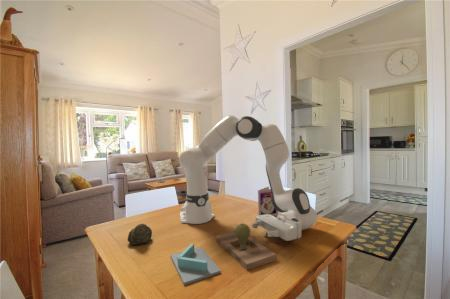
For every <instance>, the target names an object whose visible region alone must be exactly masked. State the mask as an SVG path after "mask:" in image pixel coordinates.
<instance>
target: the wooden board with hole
mask: <svg viewBox="0 0 450 299" xmlns="http://www.w3.org/2000/svg"><path fill="white" fill-rule="evenodd" d="M215 238H216V242H217V243H218V244H219V245H220V246H221V247H222V248H223V249H224V250H225V251H227V253H228V254H229V255H230V256H231V257H232V258H233V259H235V261H237V263H238V264H240V265H241V266H242V267H243V268H244V269H245V270H246V271H249V270H252V269H255V268H258V267H260V266H263V265H266V264H268V263H271V262H274V261H275V262H276V261H277V254H276V253H275V252H273V251H272V250H270V249H269V248H268V247H266V246H264V245H263V244H261V243H260V242H259V241H257V240H256V239H255V238H253V237H251V235H249V237H248V240H247V245H249V246H250V248H246V249H245V250H241V251H239V249H237V248H236V247H237V246H240V242H239V239H238V237H237V235H236V230H235V231H231V232H228V233H223V234H220V235H216V236H215Z"/></svg>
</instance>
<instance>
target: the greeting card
mask: <svg viewBox="0 0 450 299" xmlns="http://www.w3.org/2000/svg"><path fill="white" fill-rule="evenodd" d="M257 197H258V198H257V202H258V216H259V215H265V214H270V215H272V216H275V217H277V216H278V214H279V211H277V210H276V209H275V208H274V206H273V203H272V193H271V188H270V186H266V187H264V188H261V189H258V191H257Z"/></svg>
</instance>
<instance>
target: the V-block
mask: <svg viewBox="0 0 450 299" xmlns="http://www.w3.org/2000/svg"><path fill="white" fill-rule="evenodd" d="M202 247H203V246H198V247H195V243H190V244H189V245H188V246H187V247H186V248H185V249H184V250H183V251H180V252H176V253H175V252H174V253H172V254H169V255H170V256H169V257H170V259H171V261H172V263H173V265H174V267H175V269H176V272H177V274H178V276H179V278H180V279H181V281H182V284H183V286H186V285H189V284H190V285H191V284H192V283H195V282H198V281H201V280H203V279H207V278H210V277H213V276H215V275H218V274H221V273H222V271H221V269H220V268H219V266H218V265H217V264H216V263H215V262H214V261H213V259H212V258H211V257H210V256H209V255H208V253H207V251H205V249H204V248H202Z"/></svg>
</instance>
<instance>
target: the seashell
mask: <svg viewBox="0 0 450 299" xmlns="http://www.w3.org/2000/svg"><path fill="white" fill-rule="evenodd" d="M152 236H153V230H152V229H151V227H150V226H147V224H144V223H139V224H137V225H136V226H135V227H134V228H132V229H131V230H130V231H129V232H128V236H127V242H128V243H129V244H130V245H142V244H147V243H149V242H150V241H151V238H152Z"/></svg>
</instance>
